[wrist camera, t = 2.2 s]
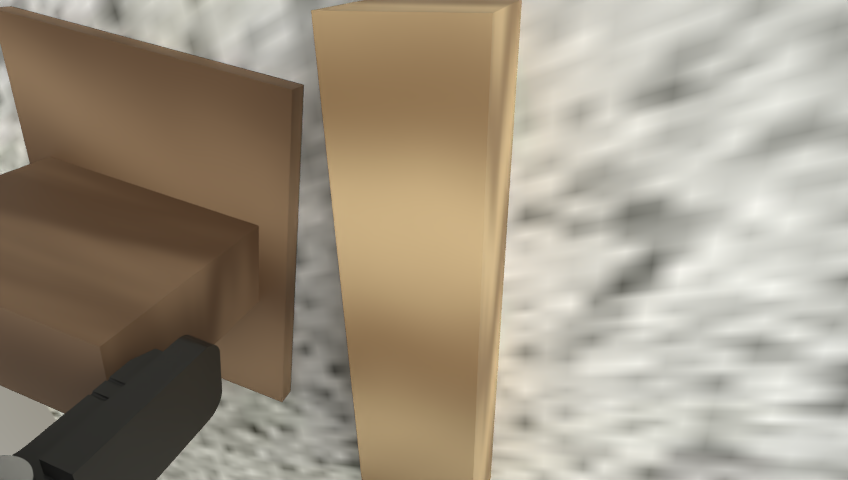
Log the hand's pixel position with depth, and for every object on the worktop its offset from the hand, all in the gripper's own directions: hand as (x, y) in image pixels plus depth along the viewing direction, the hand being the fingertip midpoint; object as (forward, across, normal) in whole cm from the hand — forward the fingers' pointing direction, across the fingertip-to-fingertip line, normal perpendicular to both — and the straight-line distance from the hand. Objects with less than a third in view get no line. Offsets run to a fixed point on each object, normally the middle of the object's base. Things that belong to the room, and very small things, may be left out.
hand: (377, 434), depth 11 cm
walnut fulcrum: (+6, +10, +1) cm, 12 cm away
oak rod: (+6, 0, 0) cm, 6 cm away
